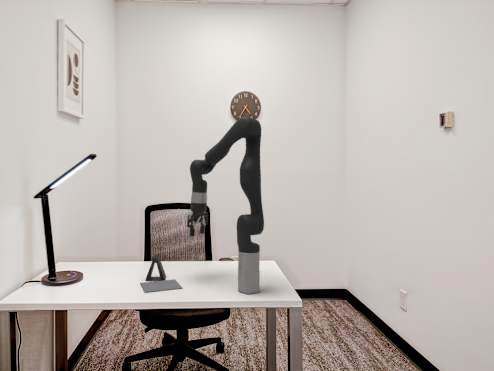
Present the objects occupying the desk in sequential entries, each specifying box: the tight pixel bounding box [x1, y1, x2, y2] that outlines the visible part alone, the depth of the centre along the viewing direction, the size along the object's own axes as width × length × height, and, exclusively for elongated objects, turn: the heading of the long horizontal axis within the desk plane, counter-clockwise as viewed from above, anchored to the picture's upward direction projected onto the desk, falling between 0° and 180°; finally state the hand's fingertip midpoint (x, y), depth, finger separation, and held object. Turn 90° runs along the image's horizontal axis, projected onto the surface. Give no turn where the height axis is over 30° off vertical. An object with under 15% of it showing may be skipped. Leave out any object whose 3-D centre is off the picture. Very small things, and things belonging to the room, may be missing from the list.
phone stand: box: [144, 252, 167, 282], centre depth 176 cm, size 9×6×12 cm, turn 96°
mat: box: [140, 279, 183, 294], centre depth 165 cm, size 14×16×1 cm
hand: (197, 234), depth 178 cm, fingers open, 8 cm apart
